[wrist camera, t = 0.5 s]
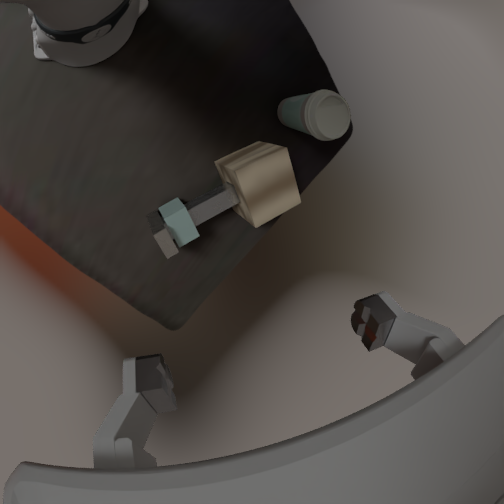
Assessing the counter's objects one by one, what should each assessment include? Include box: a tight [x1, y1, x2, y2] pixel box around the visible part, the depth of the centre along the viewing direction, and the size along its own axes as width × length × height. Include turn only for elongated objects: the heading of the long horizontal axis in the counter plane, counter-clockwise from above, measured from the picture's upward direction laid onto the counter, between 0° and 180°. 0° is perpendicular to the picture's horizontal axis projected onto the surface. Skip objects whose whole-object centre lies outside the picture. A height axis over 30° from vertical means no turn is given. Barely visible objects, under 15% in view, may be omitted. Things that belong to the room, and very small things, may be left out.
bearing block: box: [214, 141, 301, 228], centre depth 46 cm, size 10×9×9 cm
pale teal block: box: [159, 197, 200, 247], centre depth 43 cm, size 5×4×5 cm, turn 20°
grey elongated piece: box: [147, 182, 240, 259], centre depth 44 cm, size 4×18×8 cm, turn 110°
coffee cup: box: [277, 90, 351, 141], centre depth 42 cm, size 9×9×12 cm
